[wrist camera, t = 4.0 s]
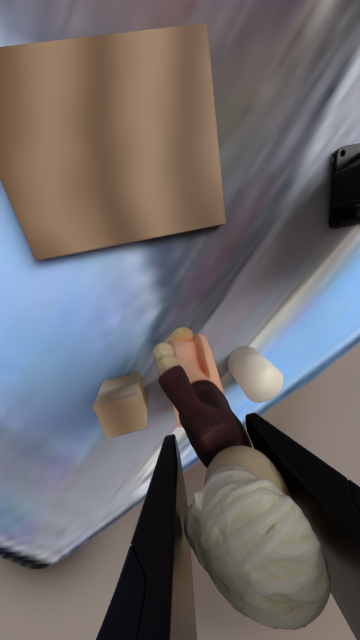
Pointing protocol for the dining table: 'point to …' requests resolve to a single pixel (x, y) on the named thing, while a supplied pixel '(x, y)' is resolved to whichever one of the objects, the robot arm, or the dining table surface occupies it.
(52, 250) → the walnut board
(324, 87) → the dining table surface
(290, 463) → the robot arm
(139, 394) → the beech block
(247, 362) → the off-white cylinder
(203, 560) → the grandmother figurine
